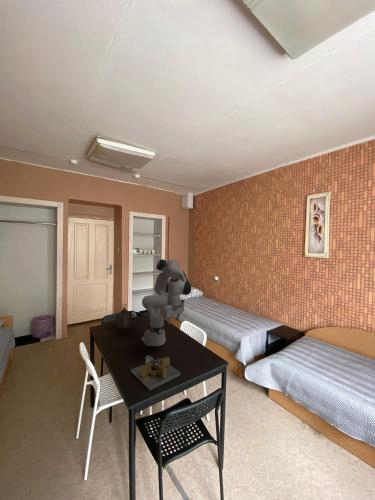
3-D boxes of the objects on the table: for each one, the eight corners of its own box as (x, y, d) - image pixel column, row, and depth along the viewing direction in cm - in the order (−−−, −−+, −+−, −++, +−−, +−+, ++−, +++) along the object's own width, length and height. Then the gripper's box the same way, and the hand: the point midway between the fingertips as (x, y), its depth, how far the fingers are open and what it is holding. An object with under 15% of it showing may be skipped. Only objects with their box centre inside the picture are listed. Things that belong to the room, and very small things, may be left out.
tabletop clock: (123, 333, 193) (123, 306, 193) (114, 332, 196) (115, 305, 196) (132, 328, 207) (132, 302, 207) (124, 327, 210) (124, 301, 210)
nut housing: (131, 372, 134) (131, 361, 134) (160, 360, 149) (160, 350, 149) (149, 390, 118) (149, 378, 118) (180, 375, 132) (180, 364, 132)
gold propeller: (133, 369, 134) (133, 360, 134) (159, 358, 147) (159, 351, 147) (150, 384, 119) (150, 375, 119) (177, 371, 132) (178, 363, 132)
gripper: (168, 305, 138) (167, 327, 138) (185, 299, 155) (185, 318, 155) (160, 304, 141) (160, 324, 141) (178, 298, 158) (178, 317, 158)
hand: (173, 321), depth 148 cm, fingers open, 8 cm apart
